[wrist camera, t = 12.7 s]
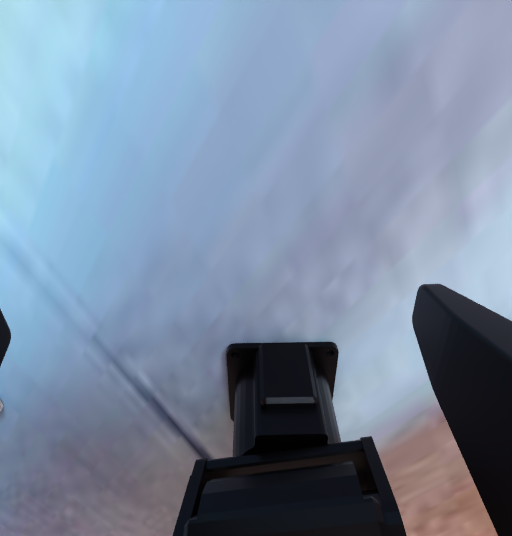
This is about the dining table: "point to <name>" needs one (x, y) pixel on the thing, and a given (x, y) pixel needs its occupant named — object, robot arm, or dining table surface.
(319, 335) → the dining table surface
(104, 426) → the dining table surface
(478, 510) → the dining table surface
